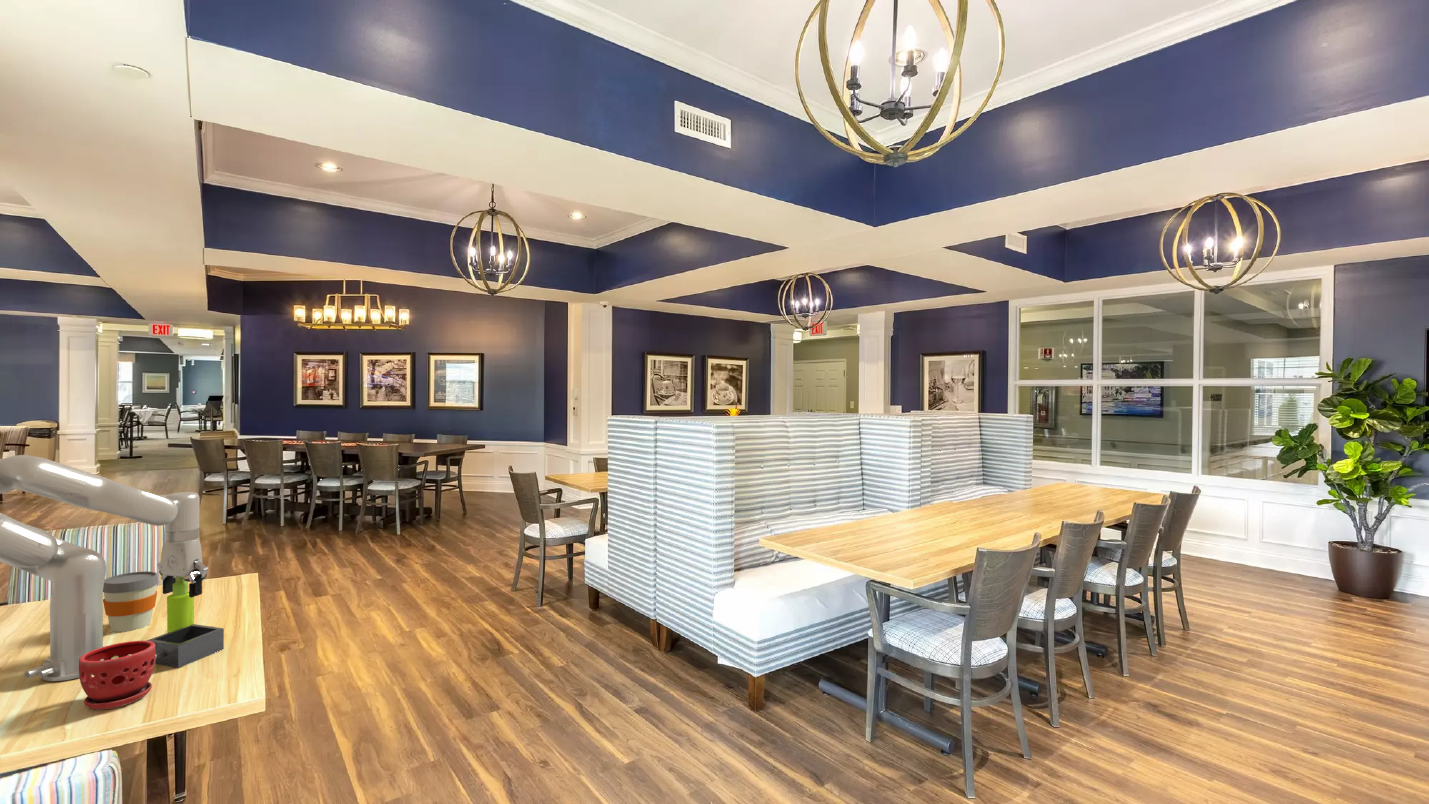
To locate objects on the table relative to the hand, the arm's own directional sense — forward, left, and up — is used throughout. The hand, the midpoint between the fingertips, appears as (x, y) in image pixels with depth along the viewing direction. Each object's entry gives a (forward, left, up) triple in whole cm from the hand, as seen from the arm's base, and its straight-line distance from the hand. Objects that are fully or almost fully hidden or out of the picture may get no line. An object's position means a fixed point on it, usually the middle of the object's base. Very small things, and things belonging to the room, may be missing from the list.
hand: (182, 594), depth 181 cm
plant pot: (-30, -21, -13) cm, 39 cm away
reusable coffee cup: (+3, +24, -13) cm, 28 cm away
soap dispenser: (0, 0, -13) cm, 13 cm away
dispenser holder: (-10, -12, -13) cm, 21 cm away
